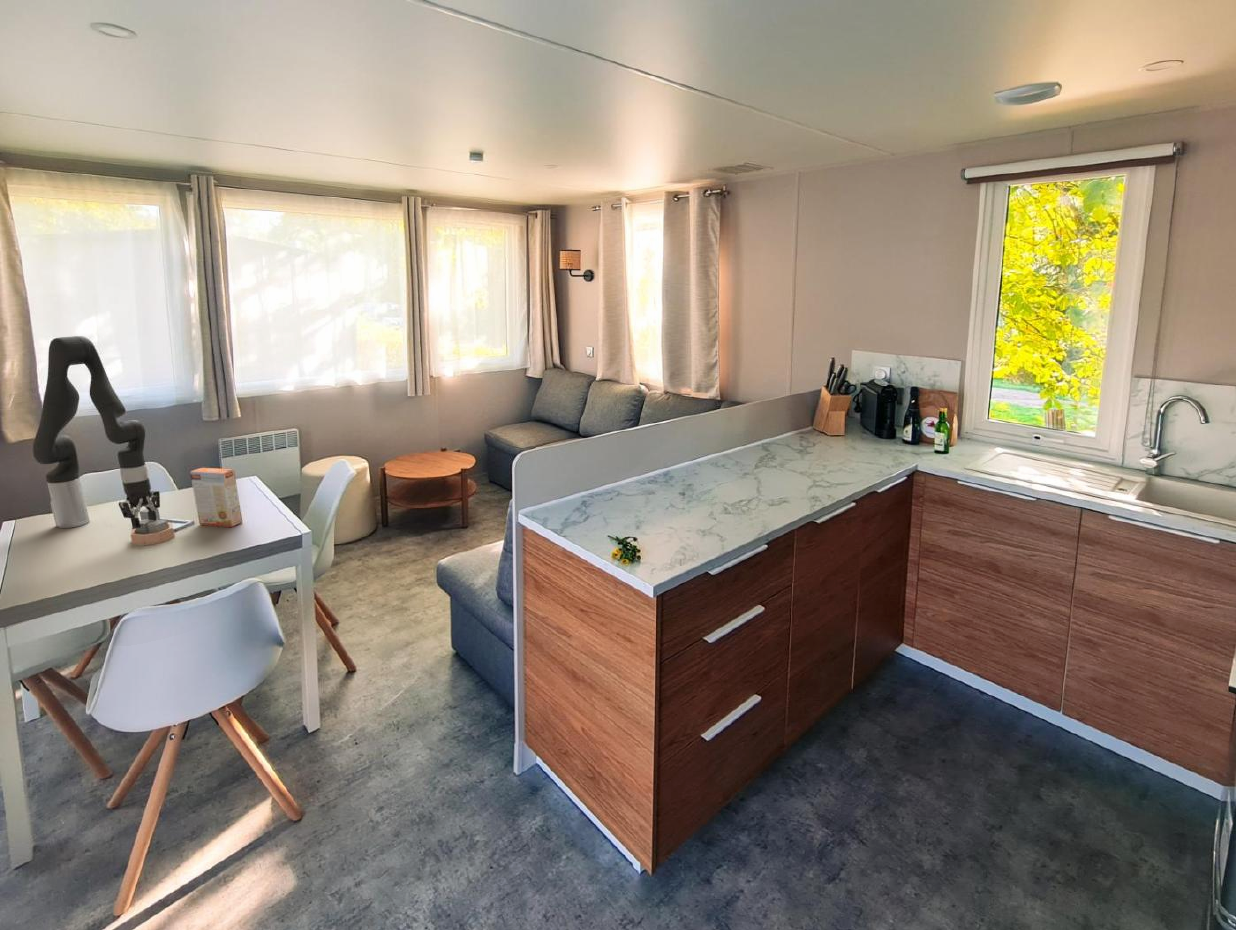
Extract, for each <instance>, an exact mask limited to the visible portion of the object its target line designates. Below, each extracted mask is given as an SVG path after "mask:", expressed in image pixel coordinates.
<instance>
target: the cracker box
mask: <svg viewBox="0 0 1236 930" xmlns="http://www.w3.org/2000/svg"><path fill="white" fill-rule="evenodd" d="M189 472H190V478H191V485H192V489H193V490H192V491H193V494H194V500H195V505H196V506H195V507H196V511H197V517H198V522H199V523H198V524H199V526H200V525H201V526H212V527H225V528H233V527H235V526H237V525H240V524H241V523H243V515H242V510H241V505H240V504H241V503H240V498H239V492H238V485H237V479H236V474H235V470H234V469H230V468H227V469H226V468H216V467H215V468H211V467H200V468H197V469H193V470H191V471H189Z"/></svg>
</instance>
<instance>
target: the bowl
mask: <svg viewBox="0 0 1236 930" xmlns="http://www.w3.org/2000/svg"><path fill="white" fill-rule="evenodd" d="M173 538H175V532H174V528H173V524H172V523H168V529H165V530H163V531H161V532H157V533H151V534H145V535H143V534H137V533H136V529H134V528H132V529H131V531H130V539H131V543H132V545H136V546H148V545H153V544H160V543H164V542H166V541H168V540H170V539H173Z"/></svg>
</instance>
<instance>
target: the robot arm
mask: <svg viewBox="0 0 1236 930" xmlns="http://www.w3.org/2000/svg"><path fill="white" fill-rule="evenodd" d="M47 360H48V365H47V367H48V368H47V379H46V385H45V391H44V394H43V401H42V407H41V408H42V409H41V415H40V420H39V425H38V428H37V430H36V434H35V438H34V440H33V443H32V455H33V458H34V459H35V461H36V462H37V463H39V464H41V465H51V464H52V465H53V464H57V463H58V464H57V466H56V467H55V468H53V469H52V470H51V471H48V473H46V474H45V479H46V480H45V481H46V483H47V486H48V487H47V488H48V491H49V496H50V502H49V503H50V508H51V511H52V512H51V513H52V515H53V519H54V523H55V526H57V528H60V529H70V528H71V529H72V528H76V527H80V526H84V525H87V524H88V523H89V522H90V521H91V520H90V517H89V512H88V508H87V503H86V499H85V494H84V491H83V486H82V482H81V478H80V477H81V476H80V465H79V459H78V453H77V448H76V445H75V443H74V440H73V439H72V438H71V437H70V436H68V435H66V434H61V435H59V434H60V432H61V431H62V430H63V429H64V428H65V427H66V426H67V425H68V424H69V423H70V422H72V420H73V419H74V417H75V416H76V415H77V412H78V408H79V404H80V403H79V402H80V394H79V392H78V390H77V389H76V387H75V386H74V384H72V382H71V381H70V379H69V377H68V371H69V367H70V366H75V365H76V366H77V365H85V367H86V368H87V369H88V371H89V374H90V385H89V397H90V399H91V402H92V404H93V406H94V407H95V409H96V410H97V412H98V413H99V415H100V417H101V420H102V424H103V427H104V432H105V436H106V439H108V440H109V441H110V442H111V443H113V444H115V445H120V444H125V443H128V444H127V446H126V447H124V448H122V449H120V450H118V453H117V459H118V463H119V467H120V468H119V469H120V477H121V483H122V487H123V491H124V493H125V495H126V500H124V501H119V502H118V506H119V509H120V511H121V513H122V516H123V518H125V519H130V522H131V527H132V526H133V527H134V528H140V522H139V521H140V518H139V514H140V511H141V508H142V507H143V508H145V509H147V510H148V517H149V520H154V521H156V518H157V517H156V513H155V511H156V509H159V508H160V507H161V500H160V499H161V497H160V495H161V494H160V493H161V492H160V491H159V490H158V491H157V490H152V486H151V482H150V481H151V480H150V477H149V472H148V471H149V470H148V468H147V464H146V461H145V455H144V448H145V439H146V429H145V426H144V425H143V424H142V422H140V420H136V419H130V420H125V421H118V420H117V419H118V418H121V417H123V416H124V415H125V413H126V411H127V410H126V408H125V406H124V404H123V403H122V401H121V399H120V398H119V396H118V395H117V393H116V392H115V390H114V388H113V386H112V384H111V382H110V379H109V377H108V375H107V372H106V370H105V367H104V364H103V362H102V360H101V358H100V355H99V353H98V350H97V349H96V346H95V345H94V343H93V342H92V340H91V339H90V338H88V337H86V336H83V335H77V336H75V335H74V336H64V337H63V336H61V337H55V338H53V339H52V340H51V341H50V343H49V346H48V358H47ZM134 528H133V529H134Z"/></svg>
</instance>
